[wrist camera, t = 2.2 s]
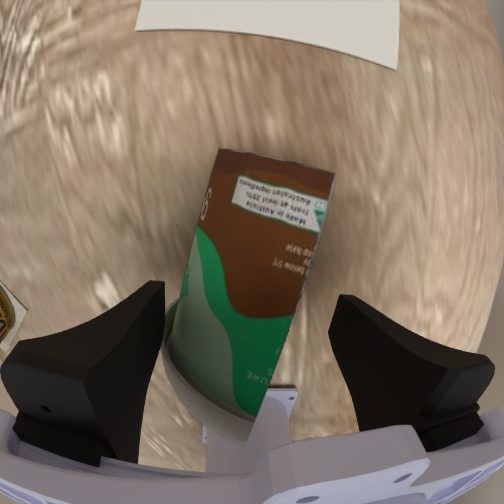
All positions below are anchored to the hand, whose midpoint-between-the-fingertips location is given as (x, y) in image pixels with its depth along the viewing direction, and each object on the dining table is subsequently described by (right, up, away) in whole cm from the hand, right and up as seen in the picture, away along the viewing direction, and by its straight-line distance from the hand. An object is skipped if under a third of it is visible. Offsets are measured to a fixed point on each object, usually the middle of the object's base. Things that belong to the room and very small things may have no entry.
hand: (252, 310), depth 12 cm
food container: (+1, +7, 0) cm, 7 cm away
